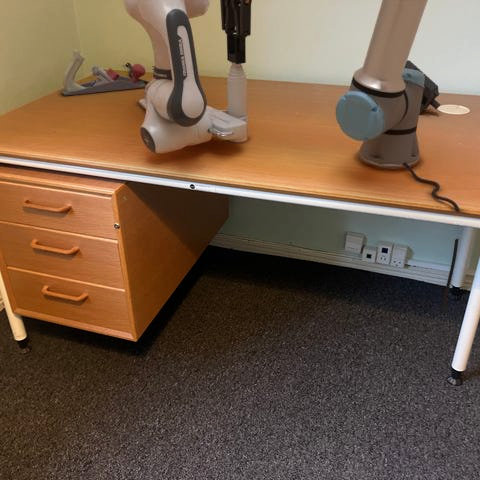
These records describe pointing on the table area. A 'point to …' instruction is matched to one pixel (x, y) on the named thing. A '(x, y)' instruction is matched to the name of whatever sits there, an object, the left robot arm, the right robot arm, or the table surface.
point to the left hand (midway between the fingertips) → (240, 115)
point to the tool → (426, 90)
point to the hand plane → (105, 80)
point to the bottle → (237, 95)
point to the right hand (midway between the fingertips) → (236, 61)
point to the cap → (232, 57)
